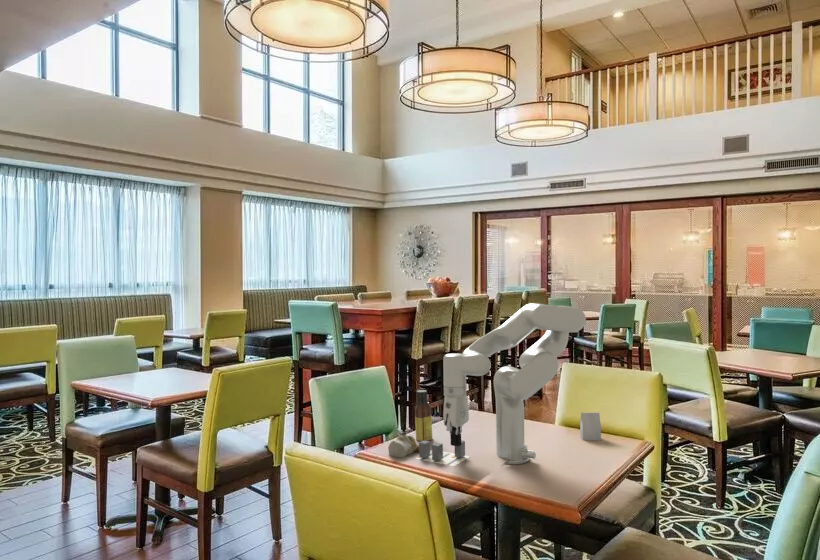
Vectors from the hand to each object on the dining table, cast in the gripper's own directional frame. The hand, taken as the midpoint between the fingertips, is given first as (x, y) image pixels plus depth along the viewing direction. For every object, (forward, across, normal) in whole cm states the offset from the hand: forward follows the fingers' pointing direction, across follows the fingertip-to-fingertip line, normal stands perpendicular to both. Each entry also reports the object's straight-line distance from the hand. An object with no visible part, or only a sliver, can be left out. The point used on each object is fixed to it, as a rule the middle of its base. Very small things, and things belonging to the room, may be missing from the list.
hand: (455, 445), depth 190 cm
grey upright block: (+7, +51, -31) cm, 60 cm away
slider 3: (+5, +3, 0) cm, 6 cm away
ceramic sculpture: (+7, -2, +20) cm, 21 cm away
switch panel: (+6, 0, +5) cm, 8 cm away
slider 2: (+5, -4, +5) cm, 8 cm away
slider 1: (+5, -4, +10) cm, 12 cm away
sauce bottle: (+7, +14, +22) cm, 27 cm away
